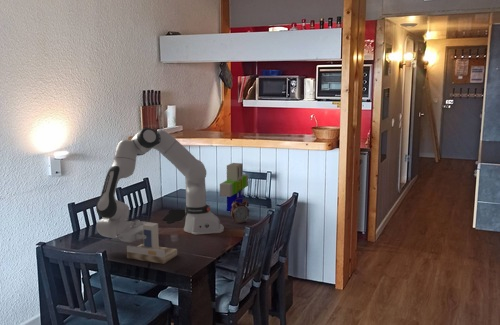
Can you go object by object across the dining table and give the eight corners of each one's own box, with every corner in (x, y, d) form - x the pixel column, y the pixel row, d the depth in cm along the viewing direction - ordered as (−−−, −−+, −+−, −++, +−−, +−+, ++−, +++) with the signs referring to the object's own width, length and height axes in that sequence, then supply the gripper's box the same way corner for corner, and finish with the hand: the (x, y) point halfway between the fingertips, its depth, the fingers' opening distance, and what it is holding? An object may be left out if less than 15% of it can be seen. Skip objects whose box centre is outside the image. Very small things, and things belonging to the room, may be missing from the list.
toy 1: (189, 210, 307) (177, 223, 278) (189, 210, 307) (177, 224, 278) (170, 209, 308) (157, 222, 279) (170, 210, 308) (157, 223, 279)
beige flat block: (177, 255, 227) (176, 243, 226) (163, 264, 216) (163, 251, 215) (141, 249, 234) (141, 238, 233) (126, 258, 223) (126, 246, 222)
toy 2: (230, 217, 291) (230, 169, 286) (220, 216, 294) (219, 168, 289) (248, 204, 323) (248, 160, 318) (238, 203, 325) (238, 160, 320)
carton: (149, 248, 227) (149, 222, 225) (158, 249, 225) (158, 223, 223) (143, 252, 222) (142, 225, 220) (152, 253, 221) (151, 226, 218)
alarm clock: (233, 225, 276) (233, 199, 273) (229, 222, 280) (229, 198, 277) (250, 222, 280) (250, 198, 278) (246, 220, 284) (246, 196, 282)
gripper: (113, 230, 217) (138, 234, 212) (139, 218, 236) (163, 221, 231) (113, 243, 218) (139, 247, 213) (139, 230, 237) (163, 234, 232)
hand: (152, 234), depth 222 cm, fingers open, 8 cm apart
